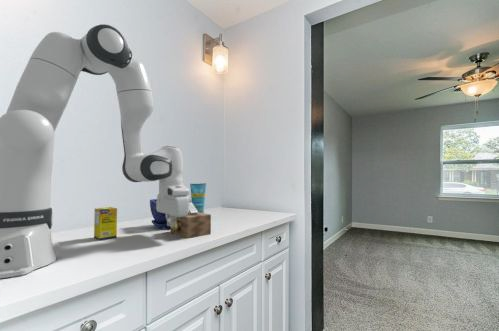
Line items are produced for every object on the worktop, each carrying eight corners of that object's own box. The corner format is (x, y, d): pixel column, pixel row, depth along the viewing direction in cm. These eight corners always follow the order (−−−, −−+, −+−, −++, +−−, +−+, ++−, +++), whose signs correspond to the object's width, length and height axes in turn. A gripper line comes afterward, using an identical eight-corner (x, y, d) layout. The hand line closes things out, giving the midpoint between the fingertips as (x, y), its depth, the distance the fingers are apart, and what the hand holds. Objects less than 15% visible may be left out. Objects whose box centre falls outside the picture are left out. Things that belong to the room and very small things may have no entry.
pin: (175, 233, 94) (176, 221, 95) (170, 231, 98) (170, 219, 98) (206, 228, 103) (206, 216, 104) (200, 226, 107) (200, 215, 107)
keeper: (190, 214, 98) (191, 212, 98) (181, 199, 104) (182, 198, 103) (197, 213, 100) (198, 212, 100) (188, 199, 106) (189, 197, 105)
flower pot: (186, 227, 113) (187, 200, 113) (155, 230, 105) (156, 201, 106) (177, 222, 124) (177, 197, 124) (148, 225, 116) (148, 199, 117)
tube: (191, 227, 112) (192, 183, 113) (188, 225, 116) (188, 183, 117) (207, 225, 116) (207, 183, 117) (203, 223, 120) (203, 183, 121)
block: (187, 238, 92) (187, 217, 93) (170, 231, 103) (170, 213, 103) (210, 233, 99) (210, 214, 99) (192, 228, 109) (192, 210, 110)
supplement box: (117, 237, 93) (117, 207, 94) (98, 240, 89) (99, 209, 89) (111, 235, 97) (111, 206, 98) (93, 238, 93) (94, 208, 93)
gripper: (152, 188, 102) (152, 223, 101) (175, 191, 87) (175, 232, 86) (167, 188, 106) (167, 221, 105) (192, 190, 91) (191, 229, 90)
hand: (171, 226), depth 96 cm, fingers closed, pressing on pin
